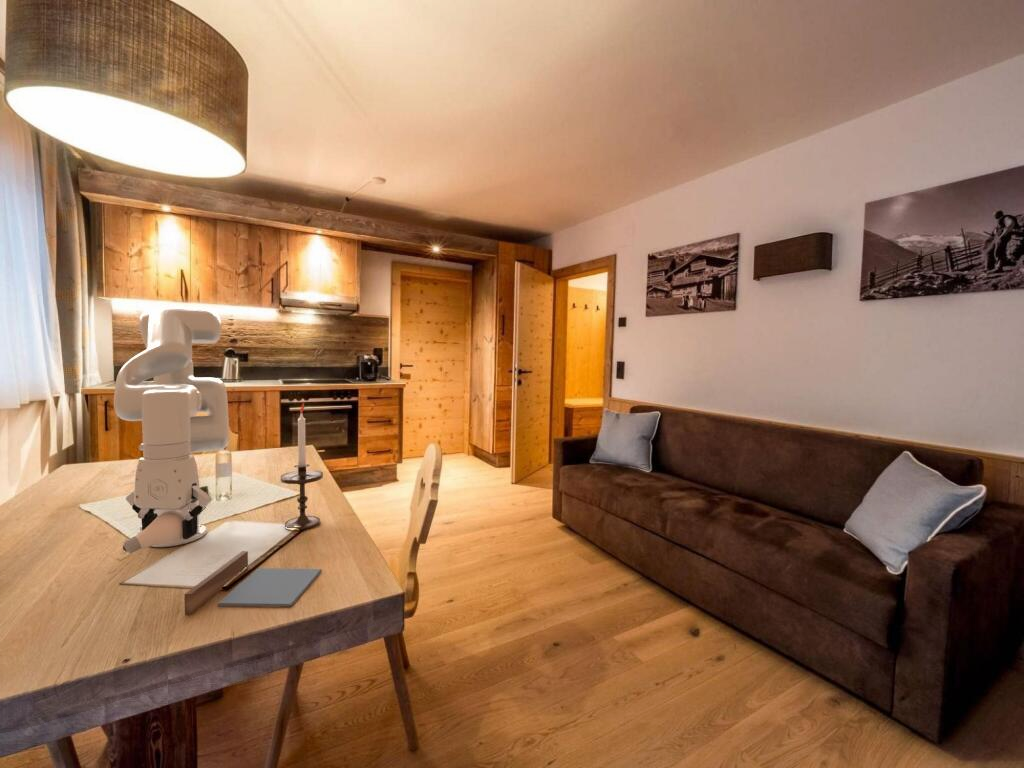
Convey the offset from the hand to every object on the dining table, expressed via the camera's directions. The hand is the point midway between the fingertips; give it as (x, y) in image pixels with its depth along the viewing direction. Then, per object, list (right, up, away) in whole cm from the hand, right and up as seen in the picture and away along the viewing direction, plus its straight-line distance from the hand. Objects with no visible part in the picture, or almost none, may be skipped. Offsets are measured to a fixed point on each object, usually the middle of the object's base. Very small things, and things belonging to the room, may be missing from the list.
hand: (170, 535), depth 90 cm
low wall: (+9, -12, +1) cm, 15 cm away
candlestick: (+10, -10, +36) cm, 39 cm away
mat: (+20, -12, +2) cm, 23 cm away
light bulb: (-1, -2, -2) cm, 3 cm away
